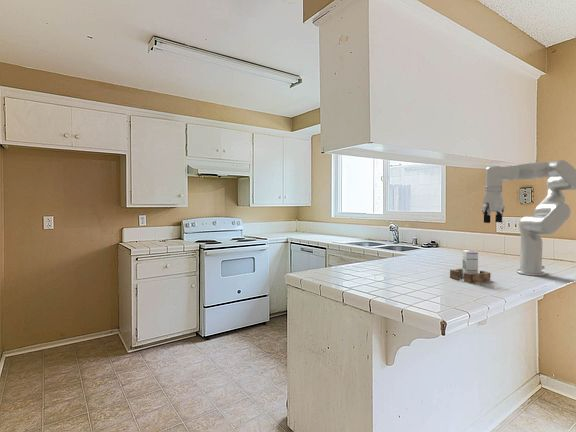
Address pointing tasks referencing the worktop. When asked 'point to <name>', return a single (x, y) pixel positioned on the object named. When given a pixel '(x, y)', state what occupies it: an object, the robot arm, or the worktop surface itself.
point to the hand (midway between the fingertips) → (492, 222)
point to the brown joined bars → (470, 276)
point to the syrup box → (470, 262)
